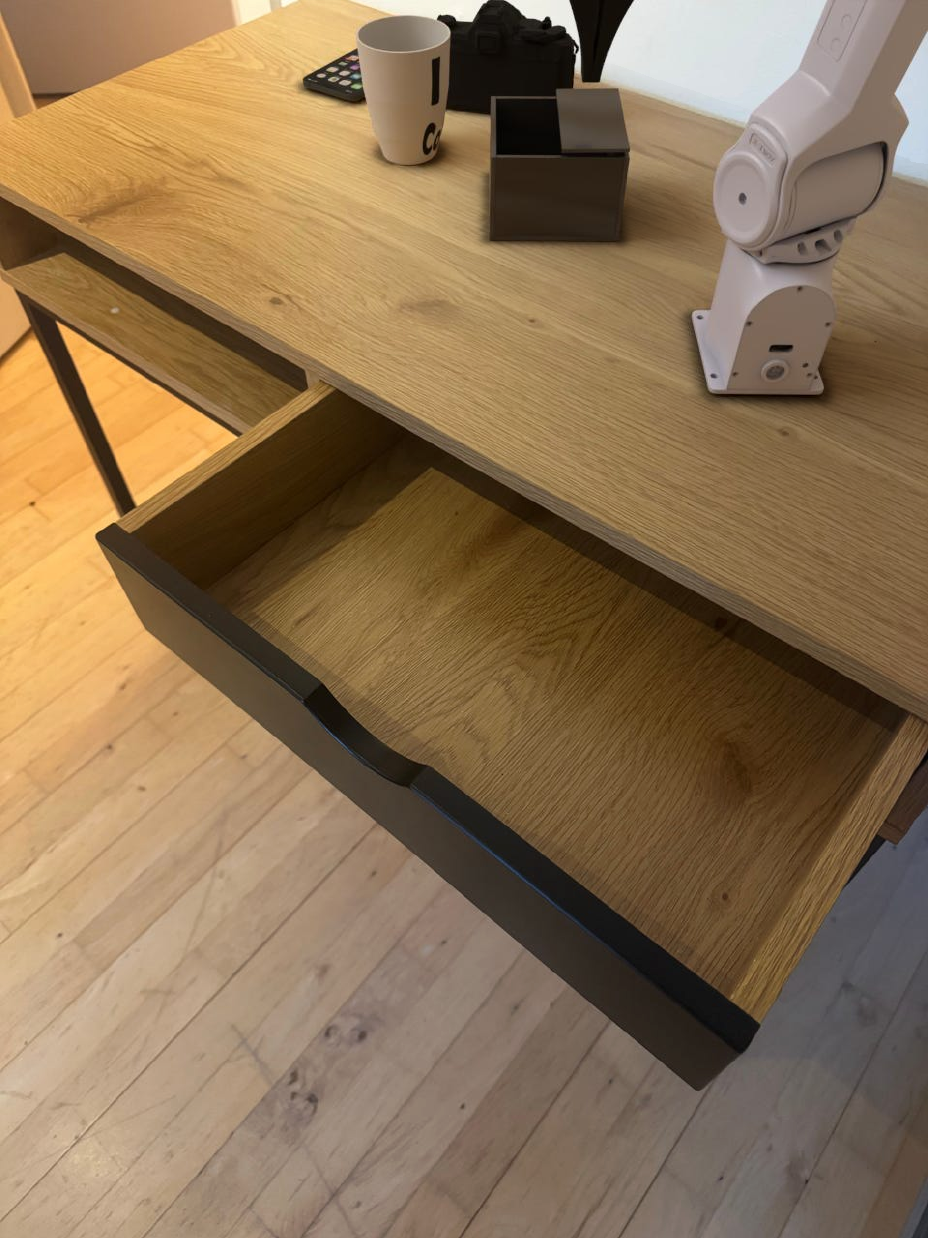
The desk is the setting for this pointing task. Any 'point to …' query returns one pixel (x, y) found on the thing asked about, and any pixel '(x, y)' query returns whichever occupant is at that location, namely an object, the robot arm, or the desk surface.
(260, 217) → the desk surface
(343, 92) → the smartphone
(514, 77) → the film camera
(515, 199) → the carton
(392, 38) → the cup
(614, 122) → the flap
